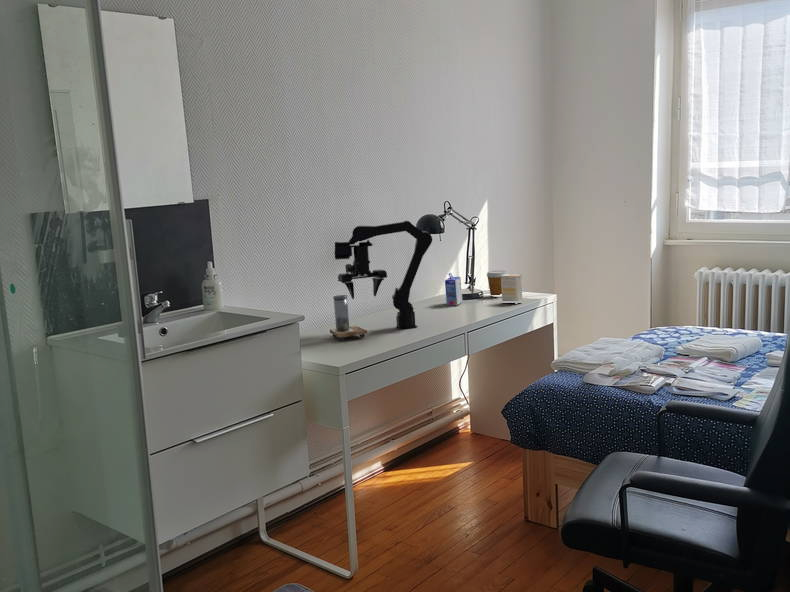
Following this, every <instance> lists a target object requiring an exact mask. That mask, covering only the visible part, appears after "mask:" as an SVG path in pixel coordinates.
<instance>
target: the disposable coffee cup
mask: <svg viewBox="0 0 790 592" xmlns="http://www.w3.org/2000/svg"><path fill="white" fill-rule="evenodd" d="M504 274H507V272H506V270H489V271H487V273H486V277H487V282H488V288H489V293H490V294H489V295H490V296H491V295H500V294H502V289H501V275H504Z"/></svg>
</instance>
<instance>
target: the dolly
mask: <svg viewBox="0 0 790 592" xmlns="http://www.w3.org/2000/svg"><path fill="white" fill-rule="evenodd" d="M349 329H350V330H349V331H344V332H338V331H336V328H333V329H331V328H330V329H329V333H330V334H331V335H332V337H333V338H337V337H338V338H339V340H340V341H341V342H342V341H345V339H346V338H347V337H354V336H359V337H360V338H362V339H363V338H365V336H366V334H368V329H364V328H363V327H360V326H357V325H355V326H354V325H352V326H349ZM345 337H346V338H345Z"/></svg>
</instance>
